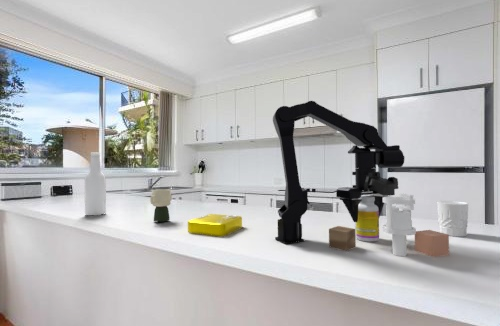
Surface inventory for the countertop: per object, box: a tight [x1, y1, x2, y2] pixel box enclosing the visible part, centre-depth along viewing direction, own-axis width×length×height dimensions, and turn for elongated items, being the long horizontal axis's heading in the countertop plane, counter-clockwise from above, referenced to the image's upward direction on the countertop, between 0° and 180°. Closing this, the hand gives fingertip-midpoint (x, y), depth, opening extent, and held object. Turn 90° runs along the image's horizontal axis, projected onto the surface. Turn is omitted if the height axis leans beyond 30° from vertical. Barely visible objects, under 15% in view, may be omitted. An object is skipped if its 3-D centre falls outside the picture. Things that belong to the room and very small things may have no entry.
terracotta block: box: [414, 229, 450, 258], centre depth 66 cm, size 5×5×5 cm
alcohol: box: [84, 151, 107, 216], centre depth 127 cm, size 9×9×30 cm
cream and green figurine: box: [149, 188, 173, 223], centre depth 108 cm, size 11×7×13 cm, turn 152°
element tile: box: [187, 213, 243, 237], centre depth 93 cm, size 15×15×5 cm
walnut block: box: [328, 225, 357, 252], centre depth 71 cm, size 5×5×5 cm
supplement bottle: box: [354, 195, 380, 243], centre depth 79 cm, size 7×7×13 cm
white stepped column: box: [382, 193, 417, 257], centre depth 65 cm, size 7×7×15 cm
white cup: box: [436, 200, 469, 238], centre depth 83 cm, size 8×8×10 cm
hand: (366, 220), depth 79 cm, fingers open, 9 cm apart
